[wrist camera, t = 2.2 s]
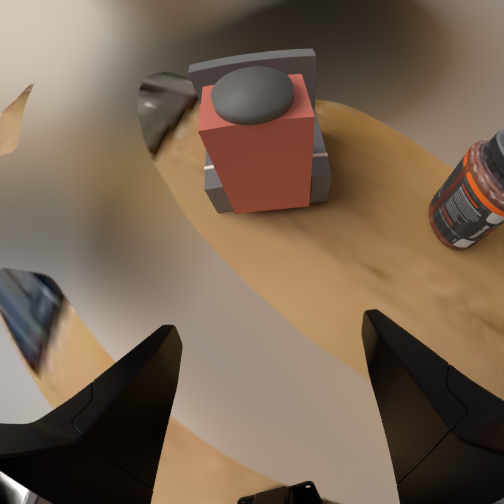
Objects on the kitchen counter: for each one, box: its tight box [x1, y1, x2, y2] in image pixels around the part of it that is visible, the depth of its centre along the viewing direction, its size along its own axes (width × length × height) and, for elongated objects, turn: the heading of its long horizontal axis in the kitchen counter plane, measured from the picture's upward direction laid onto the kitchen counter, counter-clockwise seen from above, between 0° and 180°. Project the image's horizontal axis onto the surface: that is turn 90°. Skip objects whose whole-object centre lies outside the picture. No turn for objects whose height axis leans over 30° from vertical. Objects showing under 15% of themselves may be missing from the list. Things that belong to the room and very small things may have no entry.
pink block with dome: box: [198, 66, 315, 214], centre depth 18 cm, size 4×6×11 cm
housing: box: [188, 49, 332, 213], centre depth 21 cm, size 8×10×10 cm
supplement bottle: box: [429, 130, 504, 250], centre depth 16 cm, size 6×6×11 cm
